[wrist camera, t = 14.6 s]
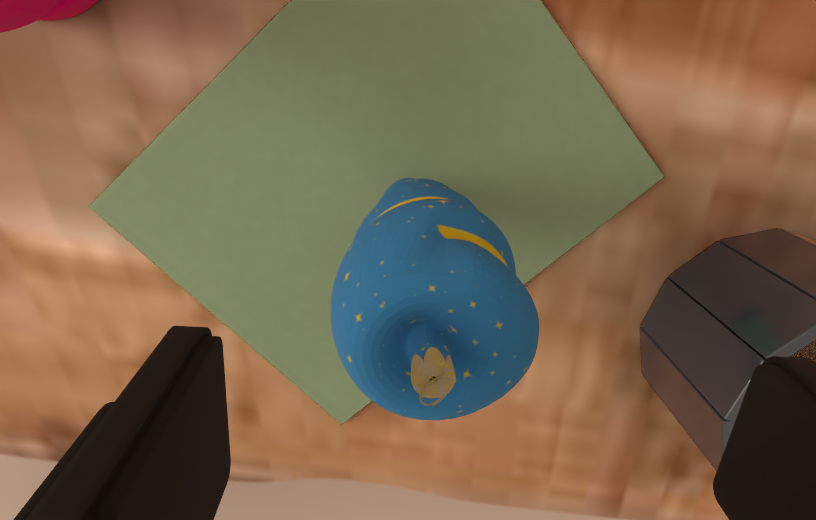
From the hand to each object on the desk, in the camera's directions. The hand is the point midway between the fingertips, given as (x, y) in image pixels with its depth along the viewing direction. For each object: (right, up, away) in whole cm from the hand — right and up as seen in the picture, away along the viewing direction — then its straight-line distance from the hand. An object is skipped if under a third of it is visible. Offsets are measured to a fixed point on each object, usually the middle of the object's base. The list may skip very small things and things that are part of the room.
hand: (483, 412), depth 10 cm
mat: (-3, +6, +15) cm, 16 cm away
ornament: (-1, +6, +15) cm, 16 cm away
